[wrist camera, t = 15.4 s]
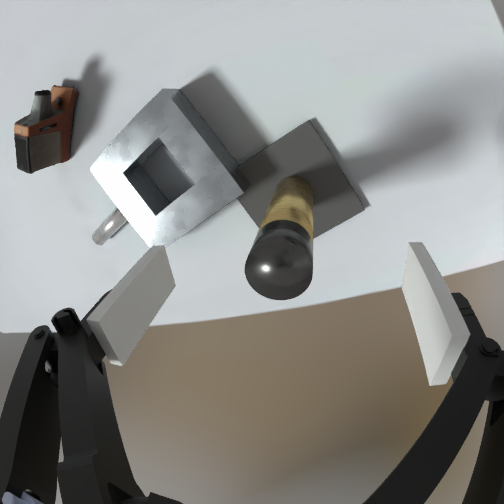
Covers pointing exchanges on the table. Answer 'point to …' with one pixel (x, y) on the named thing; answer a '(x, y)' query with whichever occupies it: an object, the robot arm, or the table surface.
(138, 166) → the block
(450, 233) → the table surface
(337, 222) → the pad
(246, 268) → the gold and black cylinder
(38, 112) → the electronic device
